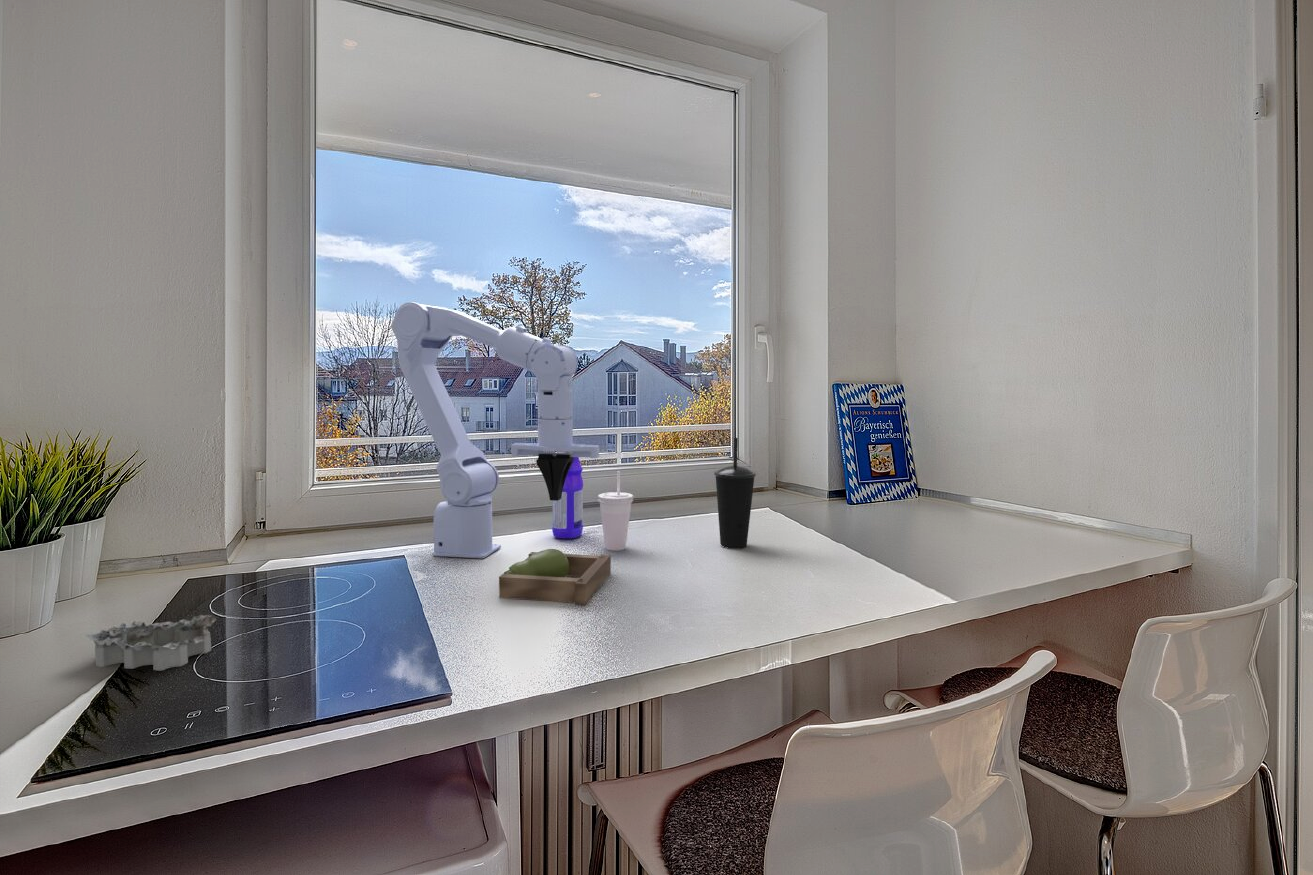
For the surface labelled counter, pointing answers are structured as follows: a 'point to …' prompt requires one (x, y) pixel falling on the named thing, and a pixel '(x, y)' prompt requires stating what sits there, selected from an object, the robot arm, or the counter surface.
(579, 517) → the bottle
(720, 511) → the drinking cup
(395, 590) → the counter surface
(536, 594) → the walnut frame
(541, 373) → the robot arm
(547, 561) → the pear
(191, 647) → the egg carton
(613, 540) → the smoothie
